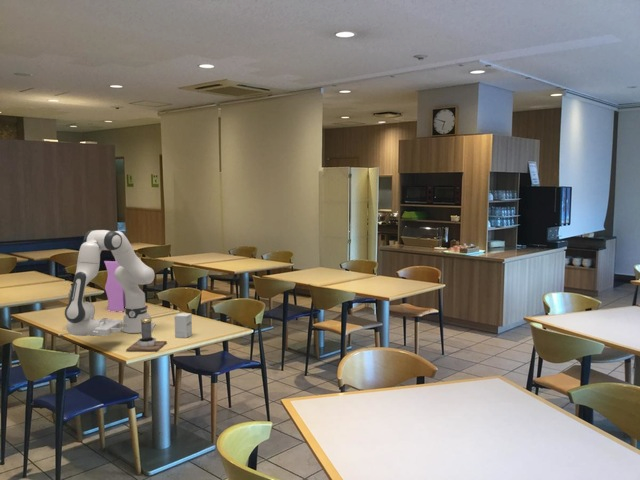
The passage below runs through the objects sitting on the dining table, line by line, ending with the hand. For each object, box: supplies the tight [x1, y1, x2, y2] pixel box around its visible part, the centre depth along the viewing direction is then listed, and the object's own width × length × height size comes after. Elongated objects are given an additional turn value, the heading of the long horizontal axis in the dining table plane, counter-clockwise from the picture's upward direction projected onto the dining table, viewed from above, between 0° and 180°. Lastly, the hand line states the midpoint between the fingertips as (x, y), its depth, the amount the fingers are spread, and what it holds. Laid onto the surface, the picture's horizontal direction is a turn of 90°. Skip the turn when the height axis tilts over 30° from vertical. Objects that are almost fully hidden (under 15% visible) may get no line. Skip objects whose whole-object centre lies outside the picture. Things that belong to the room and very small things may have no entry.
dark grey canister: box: [141, 317, 153, 341], centre depth 289 cm, size 6×6×14 cm
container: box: [103, 258, 126, 313], centre depth 382 cm, size 14×14×35 cm
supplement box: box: [174, 312, 193, 339], centre depth 312 cm, size 7×7×13 cm
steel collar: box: [136, 336, 157, 347], centre depth 290 cm, size 9×9×3 cm
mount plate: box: [125, 340, 168, 353], centre depth 290 cm, size 16×16×1 cm
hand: (124, 327), depth 290 cm, fingers open, 8 cm apart
